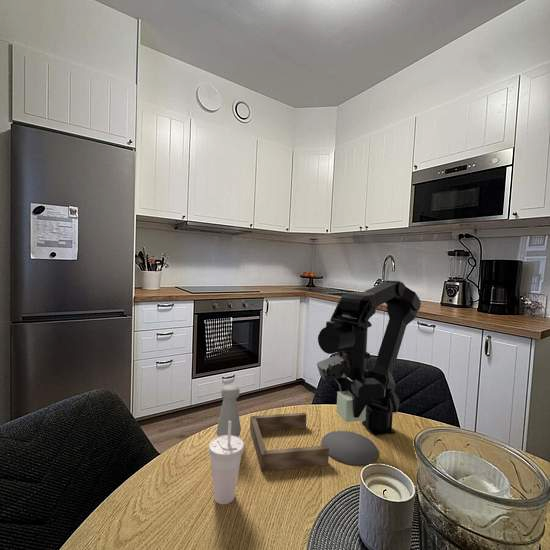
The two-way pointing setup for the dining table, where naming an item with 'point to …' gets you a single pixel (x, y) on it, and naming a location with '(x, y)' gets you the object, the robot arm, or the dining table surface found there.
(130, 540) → the dining table surface
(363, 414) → the block
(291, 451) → the bay
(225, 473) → the smoothie
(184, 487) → the dining table surface
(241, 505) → the dining table surface
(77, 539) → the dining table surface
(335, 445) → the coaster
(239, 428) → the salt shaker
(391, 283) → the robot arm
